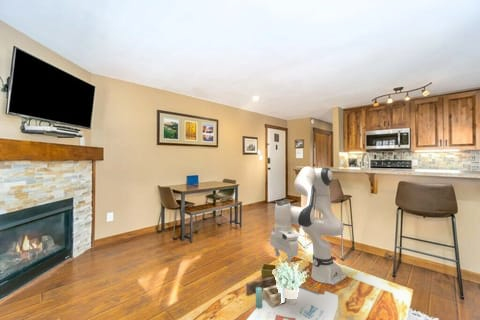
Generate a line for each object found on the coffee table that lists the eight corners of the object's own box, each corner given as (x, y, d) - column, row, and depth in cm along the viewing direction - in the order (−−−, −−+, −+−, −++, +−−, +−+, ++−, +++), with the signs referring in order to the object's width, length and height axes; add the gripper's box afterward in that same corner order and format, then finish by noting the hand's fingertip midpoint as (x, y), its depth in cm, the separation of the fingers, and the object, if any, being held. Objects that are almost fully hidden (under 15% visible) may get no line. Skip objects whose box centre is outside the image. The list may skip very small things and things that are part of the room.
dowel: (260, 303, 118) (260, 286, 118) (263, 307, 115) (263, 289, 115) (254, 305, 117) (254, 287, 117) (257, 308, 114) (257, 291, 114)
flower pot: (276, 278, 144) (276, 264, 144) (275, 285, 135) (275, 271, 135) (263, 277, 146) (263, 263, 146) (261, 283, 138) (260, 269, 138)
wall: (278, 284, 136) (278, 275, 137) (280, 286, 135) (280, 276, 135) (246, 293, 127) (246, 283, 127) (247, 295, 125) (247, 284, 126)
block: (276, 293, 127) (276, 285, 127) (285, 302, 119) (285, 293, 119) (262, 297, 123) (262, 288, 123) (271, 307, 115) (271, 297, 115)
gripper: (267, 228, 125) (267, 253, 124) (289, 238, 106) (290, 267, 105) (276, 227, 127) (276, 251, 126) (300, 236, 109) (300, 265, 108)
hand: (282, 259), depth 116 cm, fingers open, 8 cm apart
